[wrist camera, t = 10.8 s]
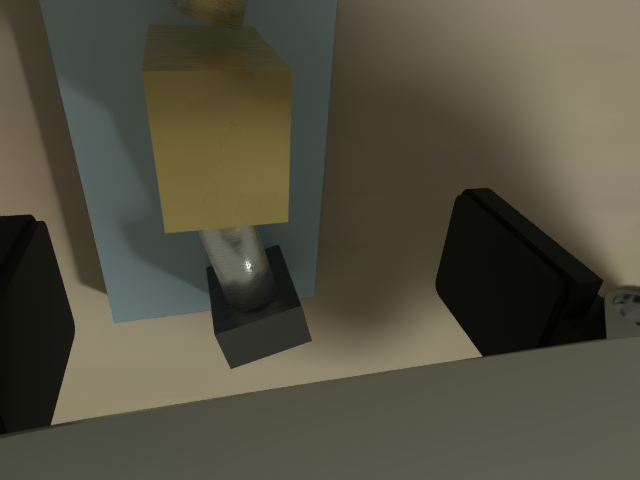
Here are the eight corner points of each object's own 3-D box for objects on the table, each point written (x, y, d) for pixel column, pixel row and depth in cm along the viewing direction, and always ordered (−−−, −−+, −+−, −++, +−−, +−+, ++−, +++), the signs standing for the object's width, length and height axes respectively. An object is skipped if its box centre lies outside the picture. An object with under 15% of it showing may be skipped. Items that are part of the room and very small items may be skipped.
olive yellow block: (148, 24, 18) (141, 71, 12) (253, 26, 19) (291, 70, 13) (164, 148, 20) (165, 233, 15) (255, 144, 21) (288, 222, 16)
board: (305, 276, 29) (314, 296, 28) (117, 298, 26) (114, 323, 25) (341, -274, 16) (360, -295, 15) (-26, -349, 13) (-52, -385, 12)
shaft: (289, 277, 26) (311, 340, 22) (220, 300, 26) (231, 369, 22) (252, 156, 22) (272, 207, 18) (167, 181, 21) (169, 240, 17)
